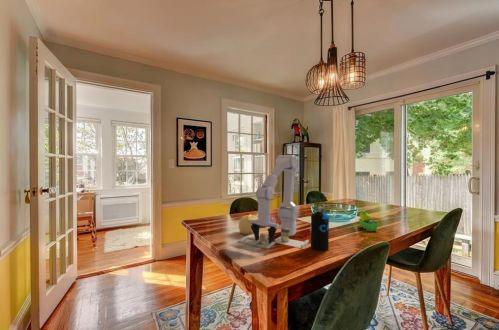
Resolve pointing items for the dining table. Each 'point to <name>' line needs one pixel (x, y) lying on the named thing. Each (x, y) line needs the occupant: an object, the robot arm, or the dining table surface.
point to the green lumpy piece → (367, 222)
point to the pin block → (255, 242)
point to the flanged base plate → (292, 242)
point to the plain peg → (285, 234)
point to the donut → (270, 220)
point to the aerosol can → (319, 231)
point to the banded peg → (263, 239)
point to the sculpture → (246, 224)
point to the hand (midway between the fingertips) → (263, 241)
